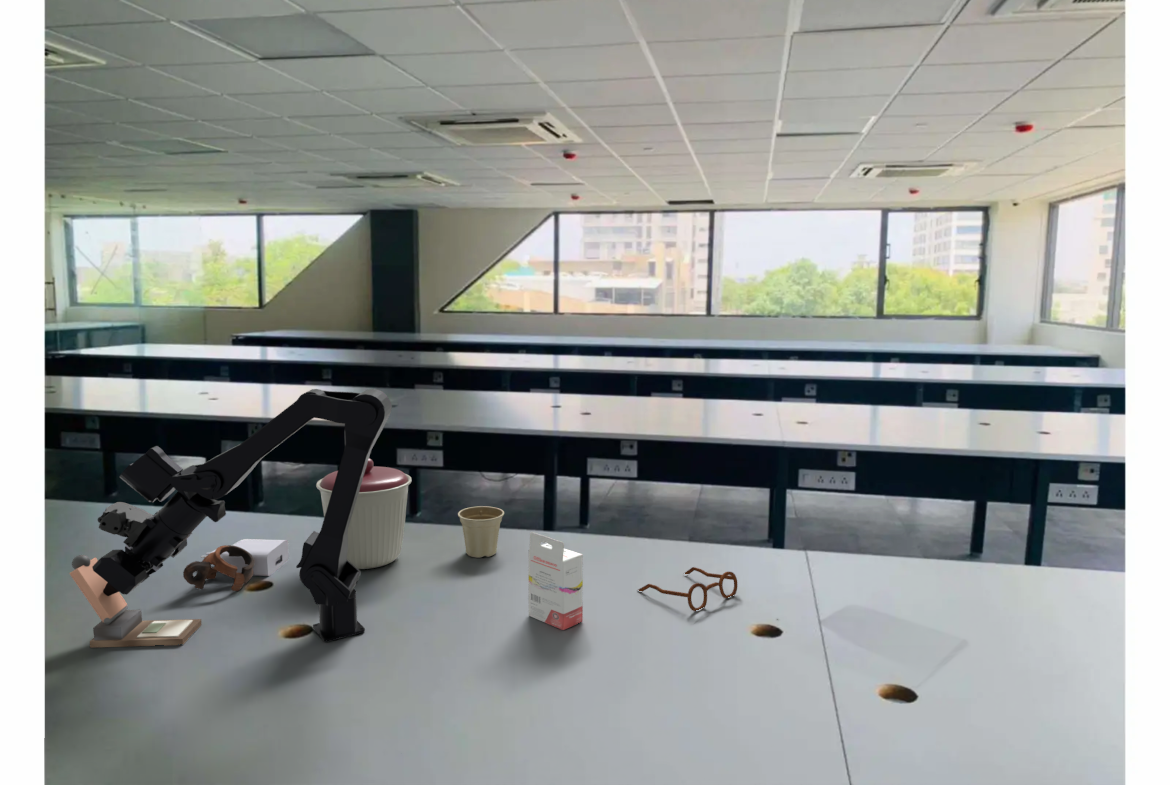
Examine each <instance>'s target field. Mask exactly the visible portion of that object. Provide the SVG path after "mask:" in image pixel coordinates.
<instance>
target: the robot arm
mask: <svg viewBox="0 0 1170 785" xmlns="http://www.w3.org/2000/svg"><path fill="white" fill-rule="evenodd" d="M392 408H393V406H392V401H391V400H390V398H389V396H388V395H387V394H386V393H385V392H384V391H381V390H380V389H374V388H371V389H370V388H369V389H365V390H364V391H362V392H354V391H353V392H352V391H336V390H335V391H333V390H322V389H319V388H311V389H309V390H307V391H306V392H304V393H302V394H300V395H299V397H298V398H297V399H296V400H295V401H294V402H292V404H290V405H289V406H288V407H286V408H285V409H284V410H283V411H281V412H279V414H278V415H276V416H275V417H273V418H272V419H271V420H270V421H269V422H267V423H266V424H264V425H263V426H262V427H261V428H259V429H258V430H256V431H255V432H254V433H253V434H251V436H249V437H247V439H245V440H244V441H242V442H241V443H239V444H238V445H236V446H234V447H231V448H230V449H228V450H226V451H223V452H222V453H220V454H218V455H216V456H214V457H213V458H211V459H210V460H207V461H206V462H204V463H201V464H192V465H189V466H188V467H186V468H182V467H181V466H180V465H179V464H178V463H176V462H175V461H174V460H173V459H172V458H170V457H169V456H168V455H167V454H166V453H165V452H164V450H163V449H162V448H161V447H159V445H155V446H153V447H150V448H149V449H148V450H147V451H146V453H144V454H143V455H141V456H139V457H138V458H137V459H136V460H135V461H134V462H132V463H130V464H129V465H128V466H126V468H124V470H123V471H122V472H121V474H120V475H119V478H120V479H121V480H122V481H123V482H124V483H126V484H127V485H128V486H129V487H130V488H132V489H133V490H134V491H135V492H137V493H138V494H139V495H140V496H141V497H143V498H144V499H145V500H146V501H147V502H149V503H154V502H155V501H156V500H157V501H159V502H161V503H162V502H163V501H165V500H166V499H167V498H168V497H170V495H171V494H173V493H174V492H175V490H176V493H175V494H173V496H172V497H171V498H170V499H169V500H168V501H167V502H166V503H165V504H164V505H163V506H162V507H161V508H160V509H159V510H157V511H156V512H155V513H153V514H152V513H149V512H148V511H146V510H145V509H142V508H139V507H137V506H134V505H132V504H129V503H126V502H123V501H117V502H114V503H113V504H111V505H109V506H107V507H105V510H104V511H103V512H102V514H101V515H100V516H99V517H97V522H98V523H99V524H98V529H99V530H101V531H104V532H106V533H108V534H111V535H114V536H115V535H118V536H120V537H123V538H125V539H124V541H123V544H125V546H124V549H112V550H110V551H108V553H106V554H105V555H103V556H101V557H100V558H99V559H97V560H98V561H97V562H96V563H95V564H94V565H93V567H92V568H93V571H94V572H95V573H97V574H98V575H99V576H100V577H102V578H103V579H104V580H105V581H107V584H106V586H105V588H104V590H103V593H104V594H105V595H107V596H110V595H112V594H115V593H117V592H119V593H120V594H121V595H129V594H130V593H131V592H132V591H134V590H135V589H136V588H137V587H138V586H140V584H142V583H144V582H146V580H147V579H149V578H150V575H152V574H154V573H156V572H157V571H158V570H160V569H161V568H163V566H164V563H163V562H165V561H166V560H168V558H170V557H171V558H175V557H176V556H177V555H179V554H180V553H181V552H182V551H183V550H184V549H185V548H186V547H187V546H188V539H189V537H190V536H191V535H193V532H194V531H195V529H196V528H197V527H198V526H199V525H200V524H201V523H202V522H203V521H204V520H205V519H206V518H207V517H208V518H209V519H210V520H211V521H212V522H214V523H217V522H219V521H220V520H221V519H222V518H224V517H225V516H226V515H227V512H226V507H225V504H226V502H225V500H219V499H221V498H223V497H225V496H226V495H228V494H229V493H230V492H231V491H233V490H235V488H237V487H238V486H239V485H241V483H242V482H244V480H245V479H246V478H247V477H248V475H250V473H251V472H252V471H253V470H254V468H256V466H257V465H258V464H259V462H260V461H261V460H262V459H263V458H264V457H265V456H267V455H268V454H269V453H270V452H272V451H274V449H275V448H277V447H278V446H279V445H281V444H282V443H284V442H285V441H286V440H287V439H289V438H290V437H291V436H292V435H294V434H295V433H296V432H299V430H300V429H301V428H303V427H304V426H306V425H307V424H308V423H309V422H311V421H312V420H313V419H320V420H325V421H328V422H332V423H336V424H344V428H343V430H344V432H343V433H344V447H343V453H342V455H341V459H340V462H339V465H338V469H337V471H338V472H337V476H336V479H335V483H334V486H333V490H332V493H331V497H330V500H329V504H328V507H327V510H326V514H325V517H324V516H323V522H322V524H321V528H320V531H319V532H318V531H315V530H313V531H312V532H311V534H310V535H309V536H308V537H307V538H306V539H305V541H304V542H303V545H302V552H301V557H300V560H299V563H298V564H296V569H300V570H299V575H298V577H299V581H301V583H302V585H303V587H305V588H307V589H308V590H309V592H310V593H311V596H312V598H313V600H314V603H315V604H316V605H318V619H319V622H318V623H314V624H312V630H314V632H315V633H316V634H317V635H318V636H319V638H321V640H322V641H323V642H324V643H326V642H327V643H328V642H330V641H335V640H339V639H342V638H347V637H350V636H353V635H354V636H355V635H357V634H361V633H364V632H365V631H366V629H365V627H364V626H363V625H362V624H361V623H360V622H359V620H358V613H357V612H358V610H357V609H358V606H357V590H356V589H355V587H356V585H357V584H358V583H359V579H360V577H361V574H362V571H361V569H358V568H356V567H355V566H354V565H353V564H352V563H351V562H349V561H348V560H347V551H348V528H349V524H350V521H351V517H352V514H353V511H354V507H355V504H356V500H357V497H358V493H359V490H360V487H361V483H362V480H363V476H364V473H365V470H366V466H367V463H368V459H369V458H370V455H371V454H372V449H373V447H374V446H375V444H376V442H377V440H378V438H379V437H380V435H381V433H382V431H383V430H384V427H385V425H386V423H387V421H388V419H389V417H390V415H391V413H392Z"/></svg>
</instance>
